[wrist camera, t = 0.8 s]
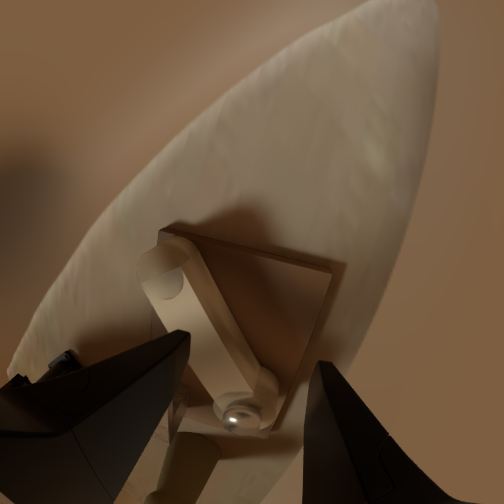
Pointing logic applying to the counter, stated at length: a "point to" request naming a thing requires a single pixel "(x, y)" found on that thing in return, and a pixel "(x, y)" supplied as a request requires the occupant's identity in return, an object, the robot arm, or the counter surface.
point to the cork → (185, 469)
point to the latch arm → (206, 327)
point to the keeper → (234, 418)
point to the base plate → (257, 312)
